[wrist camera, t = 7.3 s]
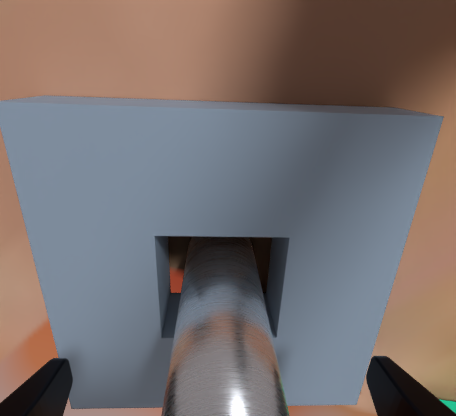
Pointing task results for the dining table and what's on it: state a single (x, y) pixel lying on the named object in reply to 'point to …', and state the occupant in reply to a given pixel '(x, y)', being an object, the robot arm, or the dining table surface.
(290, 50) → the dining table surface
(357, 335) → the socket plate
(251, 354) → the pin
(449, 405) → the camera mount
